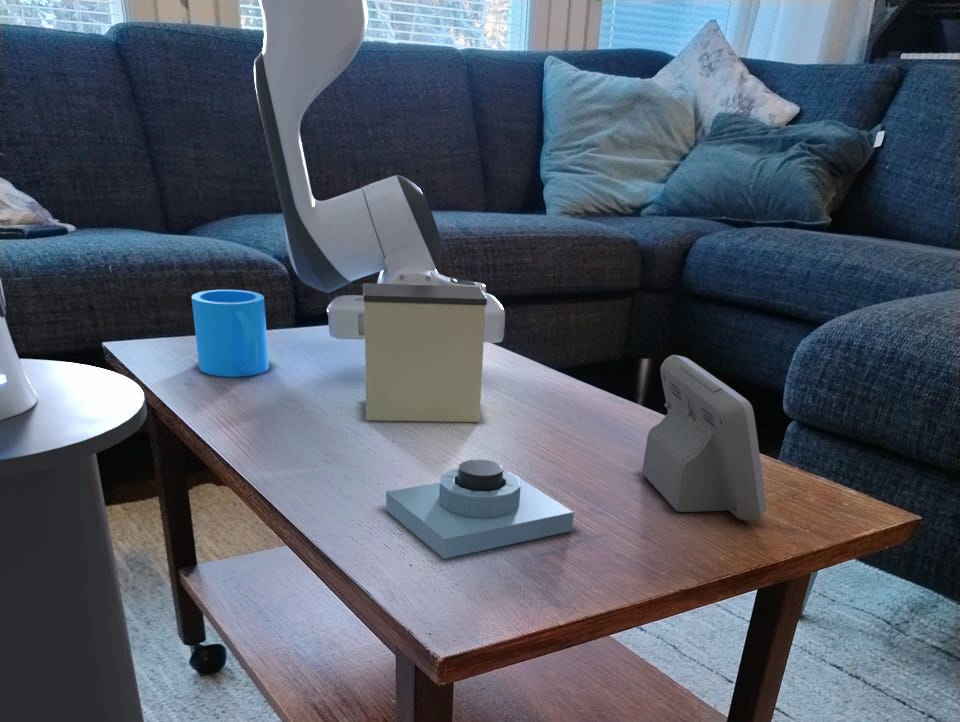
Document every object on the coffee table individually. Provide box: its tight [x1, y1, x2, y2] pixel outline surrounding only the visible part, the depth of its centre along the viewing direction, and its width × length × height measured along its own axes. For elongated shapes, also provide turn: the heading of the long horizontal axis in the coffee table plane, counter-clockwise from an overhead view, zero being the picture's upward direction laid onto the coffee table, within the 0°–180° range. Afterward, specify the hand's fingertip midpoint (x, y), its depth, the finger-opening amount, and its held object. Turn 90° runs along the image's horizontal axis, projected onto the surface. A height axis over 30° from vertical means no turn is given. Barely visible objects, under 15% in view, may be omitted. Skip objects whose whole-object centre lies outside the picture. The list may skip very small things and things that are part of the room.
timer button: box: [457, 459, 504, 491], centre depth 73 cm, size 4×4×2 cm
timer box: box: [385, 467, 575, 560], centre depth 74 cm, size 12×10×4 cm
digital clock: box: [641, 354, 767, 522], centre depth 80 cm, size 16×9×11 cm, turn 179°
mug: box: [191, 289, 270, 378], centre depth 106 cm, size 12×8×8 cm
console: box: [362, 282, 487, 423], centre depth 95 cm, size 6×12×13 cm, turn 97°
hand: (420, 336), depth 98 cm, fingers closed
